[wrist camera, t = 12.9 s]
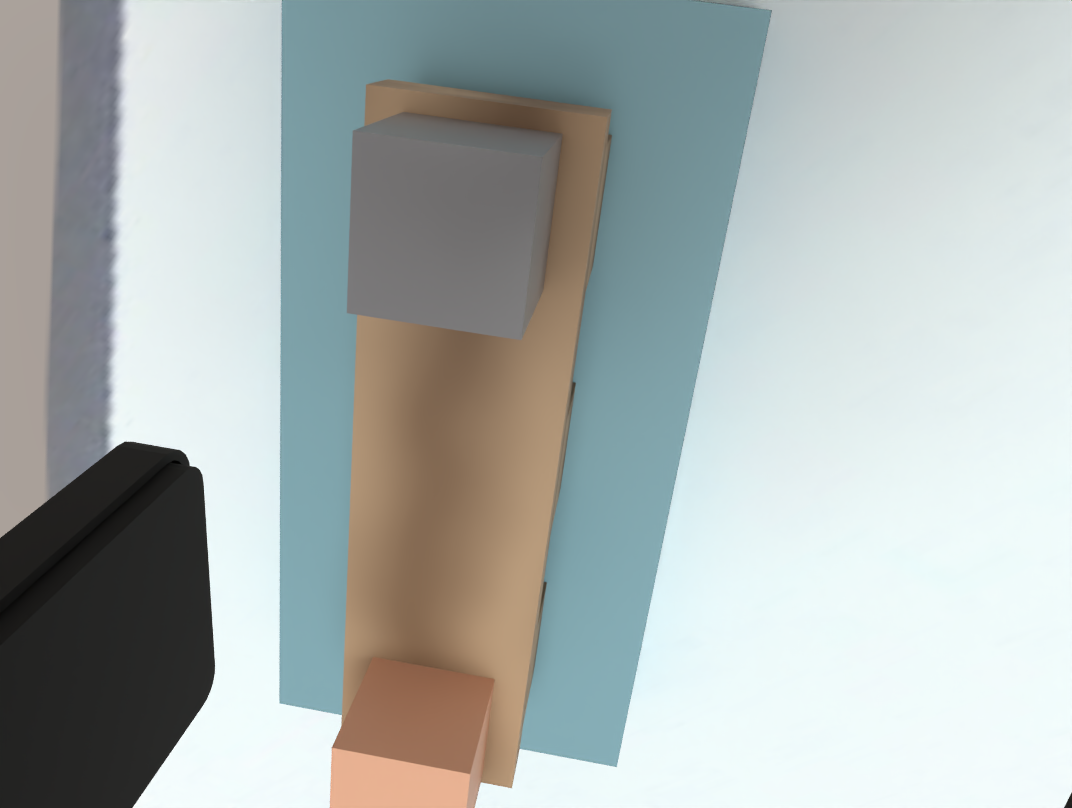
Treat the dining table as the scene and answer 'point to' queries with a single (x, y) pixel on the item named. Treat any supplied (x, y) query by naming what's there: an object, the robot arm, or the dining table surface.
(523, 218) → the block
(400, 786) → the pink cube
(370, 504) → the pallet
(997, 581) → the dining table surface
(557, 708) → the block
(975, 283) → the dining table surface
